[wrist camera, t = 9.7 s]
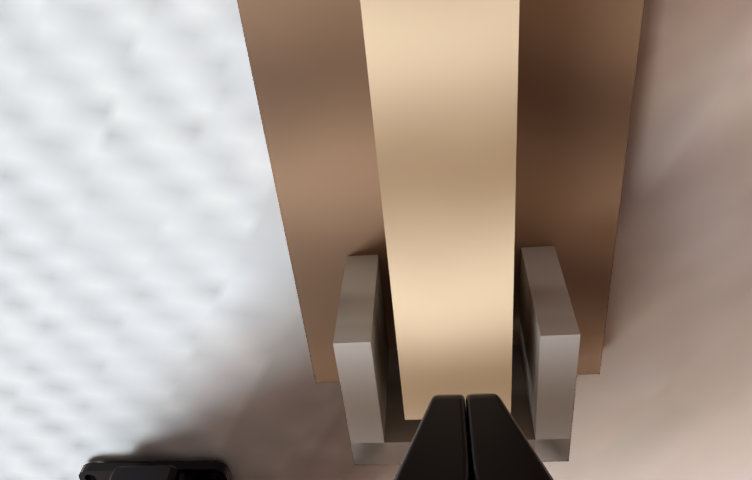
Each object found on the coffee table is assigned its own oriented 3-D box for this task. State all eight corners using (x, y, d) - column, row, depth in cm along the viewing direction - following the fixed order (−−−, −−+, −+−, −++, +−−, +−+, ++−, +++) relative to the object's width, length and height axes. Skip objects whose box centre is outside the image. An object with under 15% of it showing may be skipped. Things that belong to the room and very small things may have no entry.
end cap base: (593, 353, 24) (629, 471, 20) (319, 362, 25) (299, 476, 21) (684, -472, 13) (814, -601, 8) (169, -395, 14) (59, -474, 9)
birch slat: (497, 323, 22) (510, 417, 19) (407, 327, 23) (404, 419, 19) (499, -283, 13) (526, -305, 10) (351, -264, 14) (330, -280, 10)
